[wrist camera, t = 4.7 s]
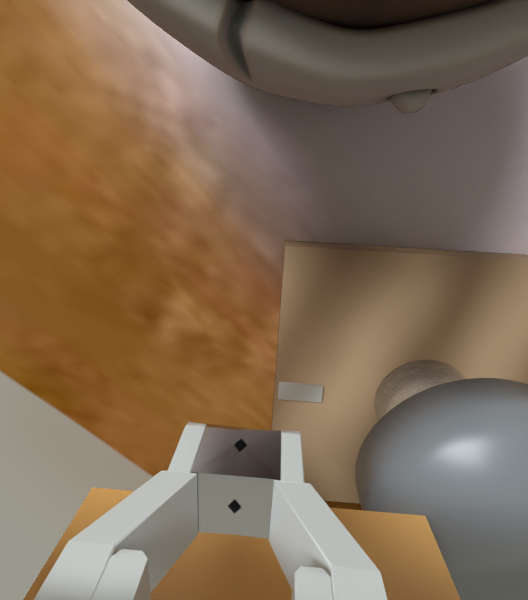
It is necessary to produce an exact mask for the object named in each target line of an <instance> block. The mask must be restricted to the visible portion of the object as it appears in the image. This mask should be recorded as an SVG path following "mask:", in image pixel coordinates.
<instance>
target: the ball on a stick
mask: <svg viewBox="0 0 528 600" xmlns="http://www.w3.org/2000/svg"><path fill="white" fill-rule="evenodd" d="M355 484H356V488H357V493H358V497H359V501H360V505H361V509H362V510H351V509H340V508H330V509H331V510H332V511H333V513H334V514H335V515H336V516H337V518H338V519H339V520H340V521H341V523H342V524H343V525H344V526H345V528H346V529H347V530H348V532H349V533H350V534H351V535H352V537H353V538H354V539H355V540H356V542H357V543H358V544H359V545H360V547H361V548H362V549H363V551H364V552H365V553H366V554H367V556H368V557H369V558H370V559H371V561H372V562H373V563H374V564H375V566H376V567H377V568H378V570H379V571H380V572H381V576H382V580H383V584H384V588H385V592H386V596H387V600H528V384H525V383H521V382H517V381H513V380H507V379H499V378H473V379H462V380H457V381H452V382H447V383H444V384H440V385H437V386H434V387H431V388H428V389H426V390H424V391H421V392H419V393H417V394H415V395H413V396H411V397H409V398H407V399H406V400H404V401H402V402H401V403H399V404H398V405H396V406H395V407H394V408H392V409H391V410H390V411H388V412H387V413H386V414H385V415H384V416H383V417H382V418H381V419H380V420H379V421H378V422H377V423H376V424H375V425H374V427H373V428H372V429H371V430H370V432H369V433H368V435H367V436H366V438H365V439H364V441H363V443H362V446H361V448H360V450H359V453H358V456H357V460H356V465H355ZM133 492H134V491H127V490H115V489H104V488H92V489H91V490H90V492H89V494H88V496H87V497H86V499H85V500H84V502H83V504H82V505H81V507H80V509H79V510H78V512H77V513H76V515H75V517H74V519H73V520H72V521H71V523H70V525H69V526H68V528H67V530H66V531H65V533H64V534H63V536H62V538H61V539H60V541H59V543H58V544H57V546H56V548H55V549H54V551H53V552H52V554H51V556H50V557H49V559H48V561H47V562H46V564H45V565H44V567H43V569H42V570H41V572H40V574H39V575H38V577H37V578H36V580H35V582H34V583H33V585H32V587H31V588H30V590H29V591H28V593H27V595H26V596H25V598H24V600H34V598H35V596H36V595H37V593H38V591H39V590H40V588H41V586H42V585H43V583H44V581H45V580H46V578H47V576H48V575H49V573H50V571H51V570H52V568H53V566H54V565H55V563H56V561H57V560H58V558H59V556H60V554H61V553H62V551H63V549H64V548H65V546H66V544H67V543H68V541H69V540H71V539H72V538H73V537H75V536H76V535H77V534H79V533H80V532H81V531H83V530H84V529H85V528H87V527H88V526H89V525H91V524H92V523H93V522H94V521H96V520H97V519H98V518H100V517H101V516H102V515H104V514H105V513H106V512H108V511H109V510H110V509H112V508H113V507H114V506H116V505H117V504H118V503H119V502H121V501H122V500H123V499H125V498H126V497H127V496H129V495H130V494H131V493H133ZM291 595H292V589H291V587H290V585H289V583H288V581H287V579H286V576H285V574H284V572H283V570H282V568H281V566H280V564H279V562H278V559H277V557H276V555H275V553H274V551H273V549H272V547H271V544H270V542H269V539H266V538H258V537H250V536H242V535H234V534H218V533H202V532H198V535H197V537H196V538H195V539H194V540H193V542H192V543H191V544H190V545H189V546H188V548H187V549H186V550H185V551H184V553H183V554H182V555H181V556H180V558H179V559H178V560H177V561H176V562H175V564H174V565H173V566H172V567H171V569H170V570H169V571H168V572H167V574H166V575H165V576H164V577H163V578H162V580H161V581H160V582H159V583H158V585H157V586H156V587H155V588H154V590H153V591H152V592H151V600H291Z"/></svg>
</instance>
